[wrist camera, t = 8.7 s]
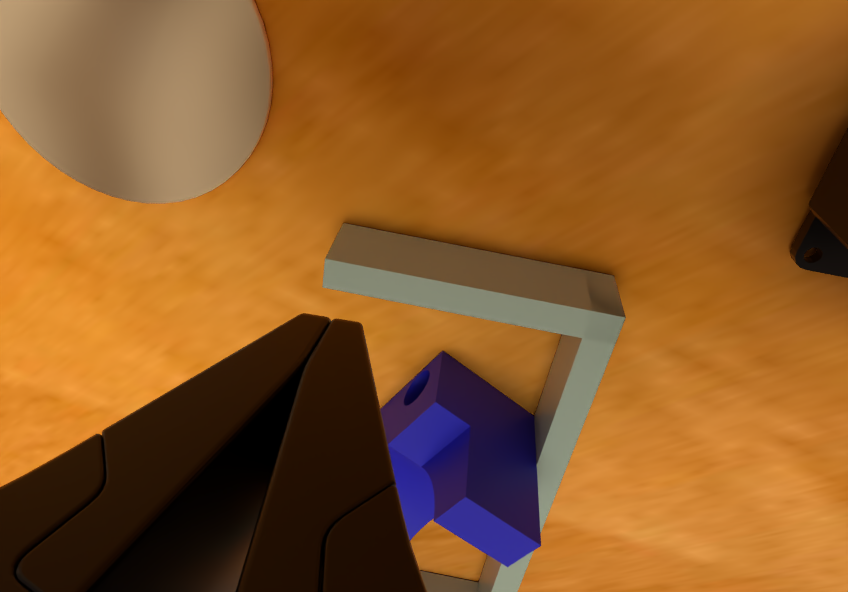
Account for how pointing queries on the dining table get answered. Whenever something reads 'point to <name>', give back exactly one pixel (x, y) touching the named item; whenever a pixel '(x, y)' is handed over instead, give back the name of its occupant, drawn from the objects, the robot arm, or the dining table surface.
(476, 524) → the blue half clamp bracket
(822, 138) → the dining table surface
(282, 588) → the robot arm
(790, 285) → the dining table surface
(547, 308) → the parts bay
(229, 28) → the cork coaster
